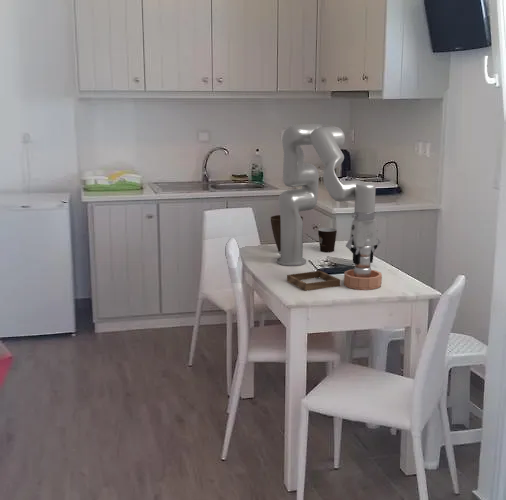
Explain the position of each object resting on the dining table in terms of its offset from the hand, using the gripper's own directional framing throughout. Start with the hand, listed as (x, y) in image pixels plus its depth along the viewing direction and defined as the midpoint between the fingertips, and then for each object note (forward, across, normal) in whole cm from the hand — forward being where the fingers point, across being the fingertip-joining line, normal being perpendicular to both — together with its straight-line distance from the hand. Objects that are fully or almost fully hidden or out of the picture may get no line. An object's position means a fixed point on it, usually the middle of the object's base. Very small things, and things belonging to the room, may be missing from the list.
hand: (362, 262), depth 267 cm
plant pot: (+9, 0, +63) cm, 63 cm away
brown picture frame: (+9, -16, +10) cm, 21 cm away
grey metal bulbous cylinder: (+7, 0, 0) cm, 7 cm away
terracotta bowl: (+9, 0, 0) cm, 9 cm away
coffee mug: (+9, +18, +57) cm, 60 cm away
